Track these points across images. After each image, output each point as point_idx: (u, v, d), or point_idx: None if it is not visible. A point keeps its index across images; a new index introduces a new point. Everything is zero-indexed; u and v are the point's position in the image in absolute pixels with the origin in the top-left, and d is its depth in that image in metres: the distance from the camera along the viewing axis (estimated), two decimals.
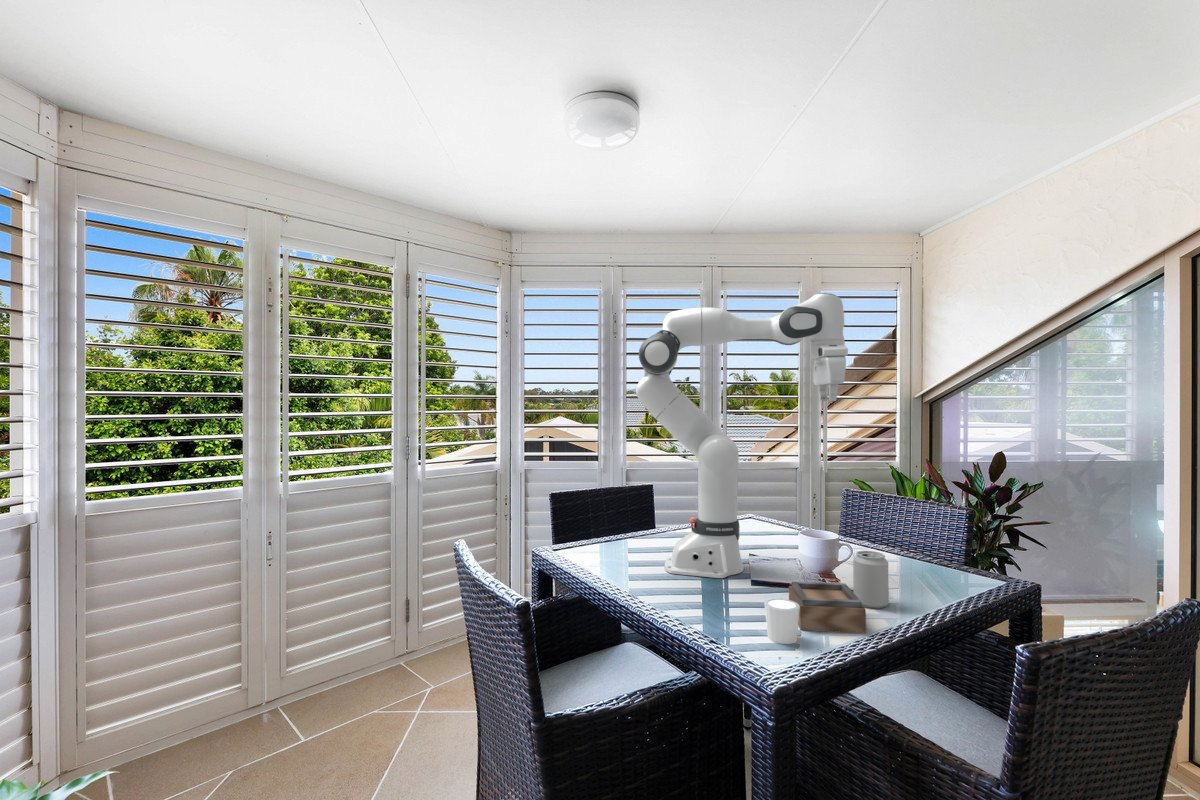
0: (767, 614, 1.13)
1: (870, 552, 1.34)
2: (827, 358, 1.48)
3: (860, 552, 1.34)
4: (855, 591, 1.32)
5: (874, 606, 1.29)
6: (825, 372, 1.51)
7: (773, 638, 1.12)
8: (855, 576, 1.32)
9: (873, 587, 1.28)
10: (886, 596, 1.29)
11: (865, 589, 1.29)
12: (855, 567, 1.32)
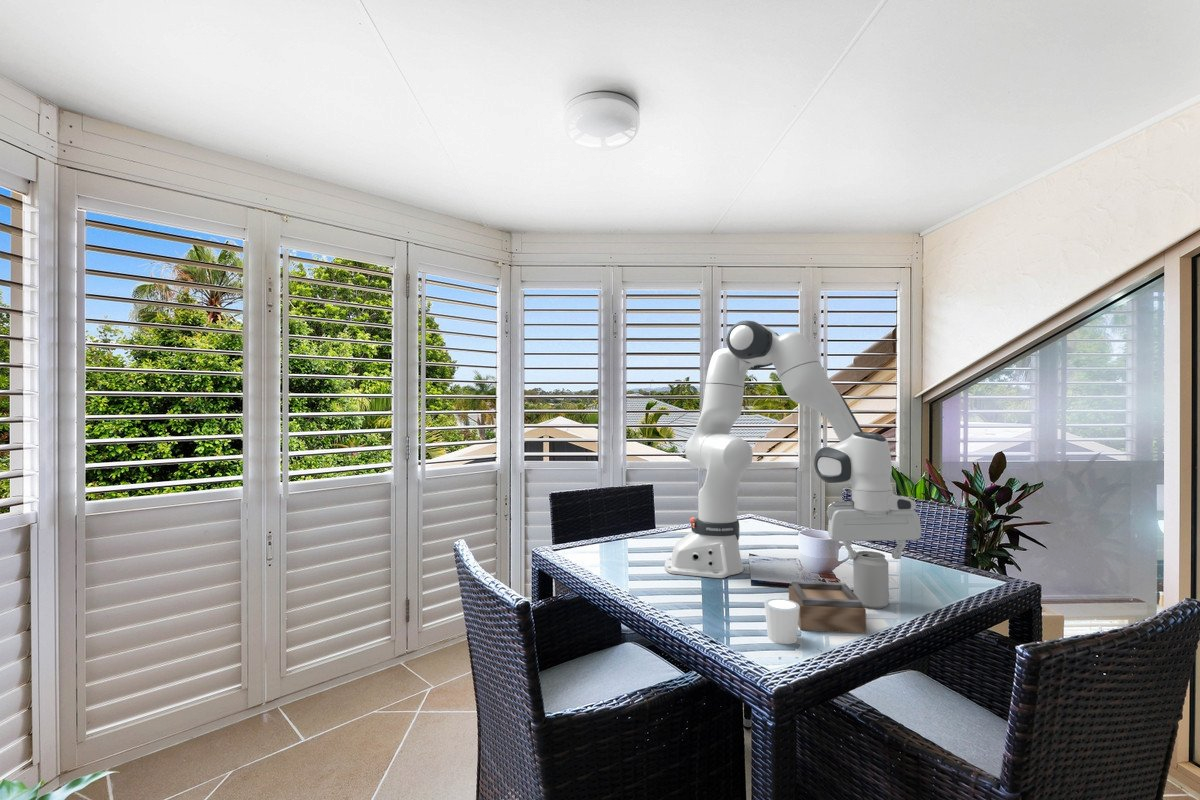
0: (767, 614, 1.13)
1: (870, 552, 1.34)
2: (915, 512, 1.29)
3: (860, 552, 1.34)
4: (855, 591, 1.32)
5: (874, 606, 1.29)
6: (898, 527, 1.30)
7: (773, 638, 1.12)
8: (855, 576, 1.32)
9: (873, 587, 1.28)
10: (886, 596, 1.29)
11: (865, 589, 1.29)
12: (855, 567, 1.32)
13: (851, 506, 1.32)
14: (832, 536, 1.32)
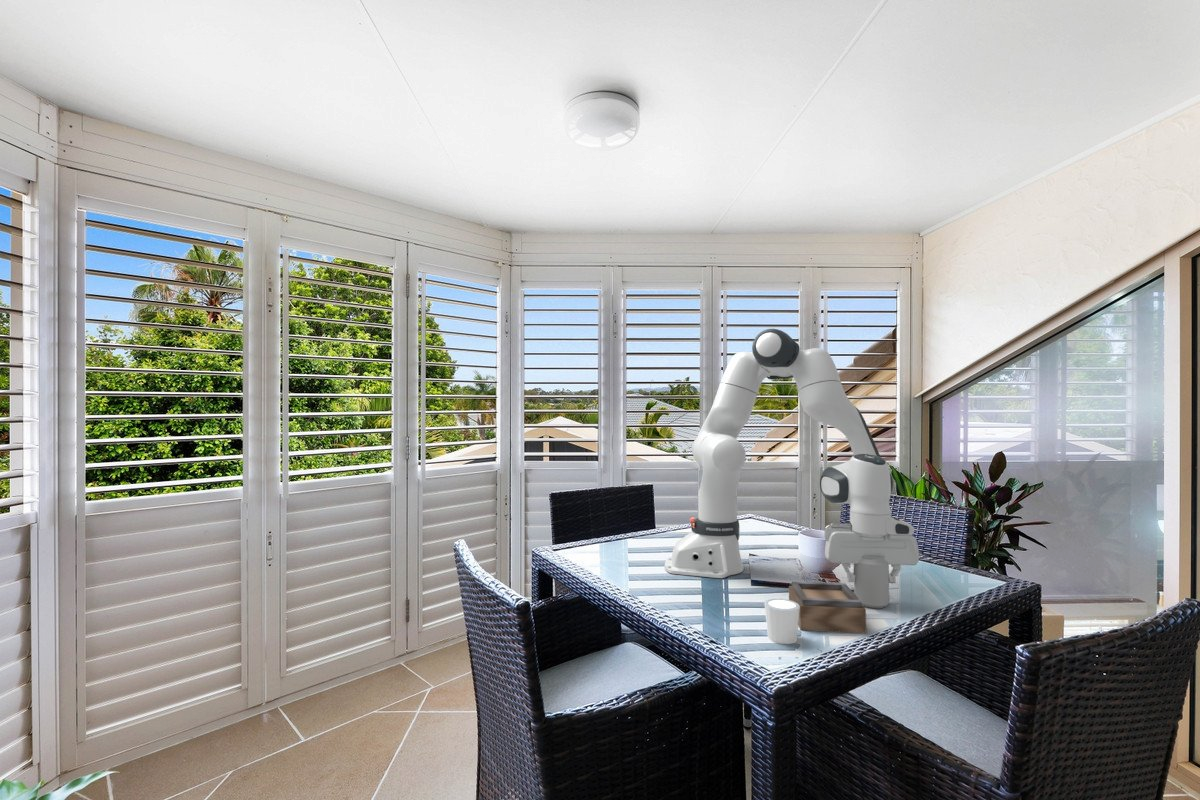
0: (767, 614, 1.13)
1: None
2: (913, 537, 1.28)
3: None
4: (855, 591, 1.32)
5: (874, 606, 1.28)
6: (895, 551, 1.29)
7: (773, 638, 1.12)
8: None
9: (873, 587, 1.28)
10: (886, 596, 1.29)
11: (865, 588, 1.29)
12: (855, 567, 1.32)
13: (849, 528, 1.32)
14: (828, 557, 1.32)
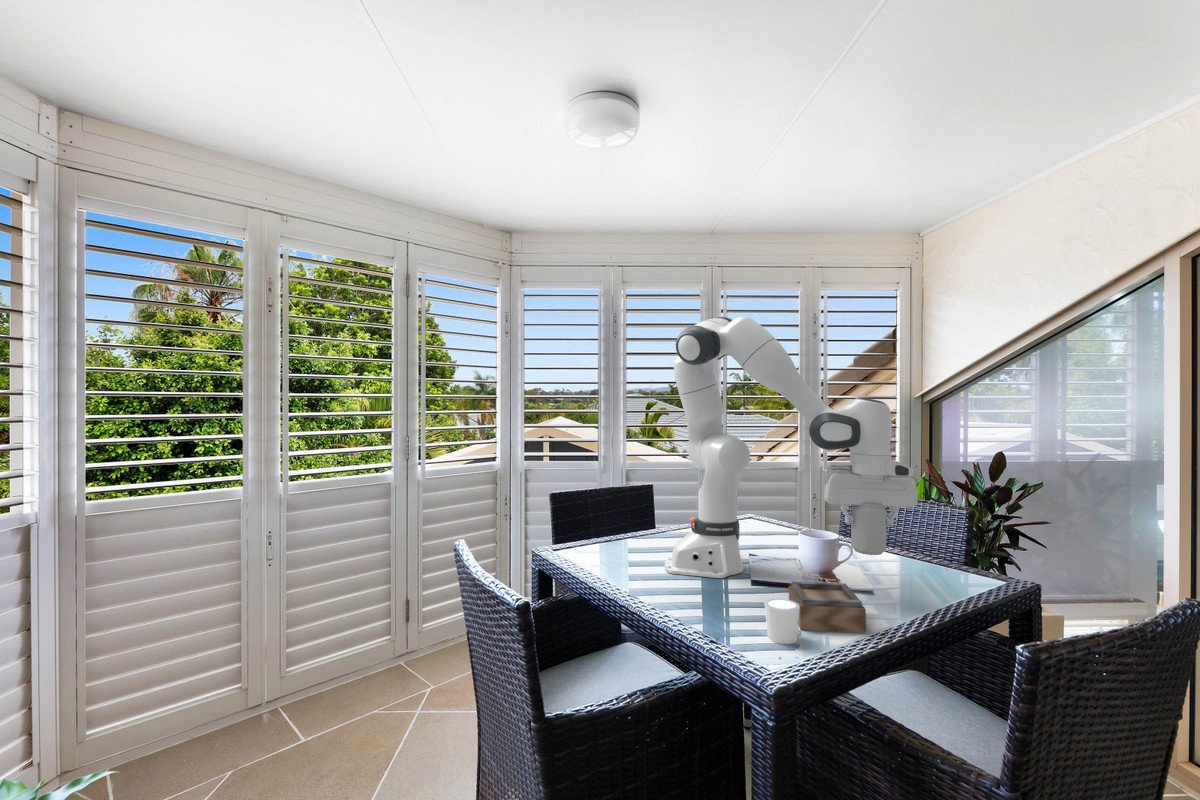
0: (767, 614, 1.13)
1: None
2: (913, 479, 1.29)
3: None
4: (852, 538, 1.32)
5: (871, 552, 1.29)
6: (894, 493, 1.30)
7: (773, 638, 1.12)
8: (853, 523, 1.32)
9: (871, 533, 1.29)
10: (883, 543, 1.29)
11: (862, 535, 1.30)
12: (853, 514, 1.32)
13: (849, 470, 1.33)
14: (827, 499, 1.32)
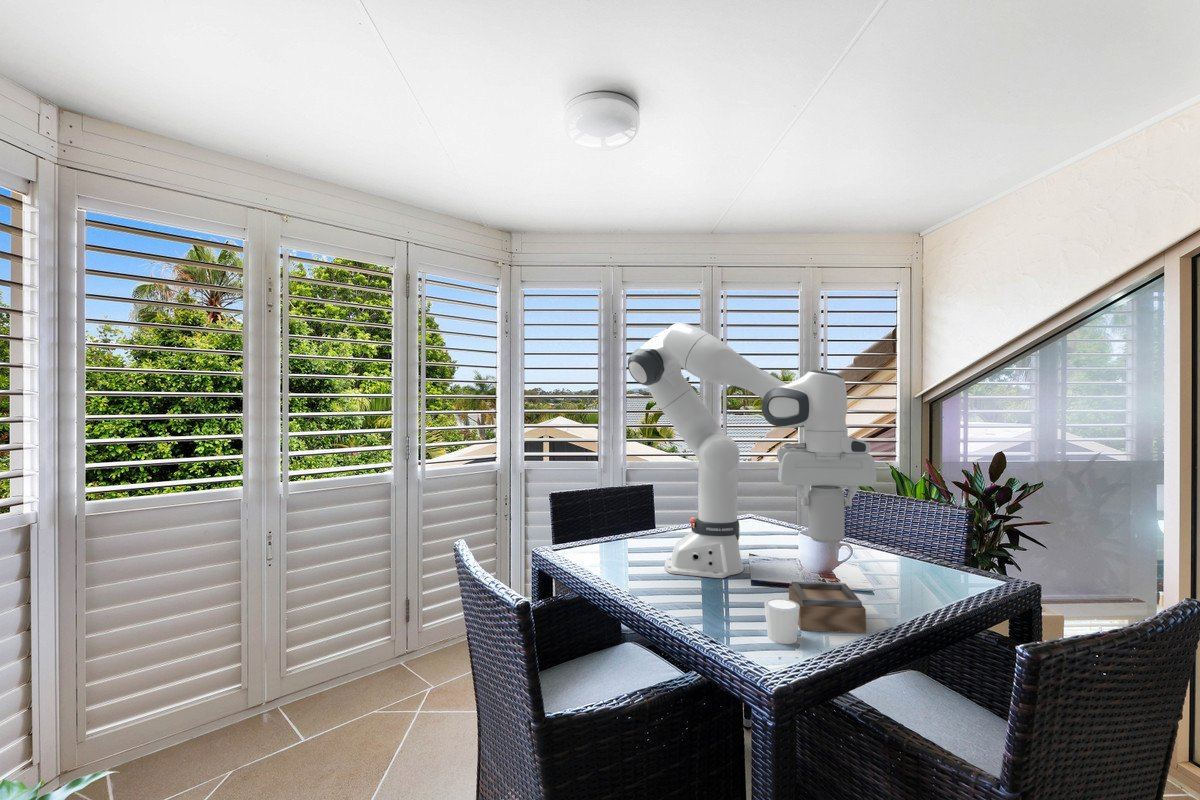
0: (767, 614, 1.13)
1: (827, 486, 1.26)
2: None
3: (816, 486, 1.26)
4: (809, 526, 1.24)
5: (827, 541, 1.20)
6: (852, 471, 1.21)
7: (773, 638, 1.12)
8: (809, 510, 1.23)
9: (827, 520, 1.20)
10: (841, 530, 1.20)
11: (818, 522, 1.21)
12: None
13: (803, 448, 1.24)
14: (781, 479, 1.23)
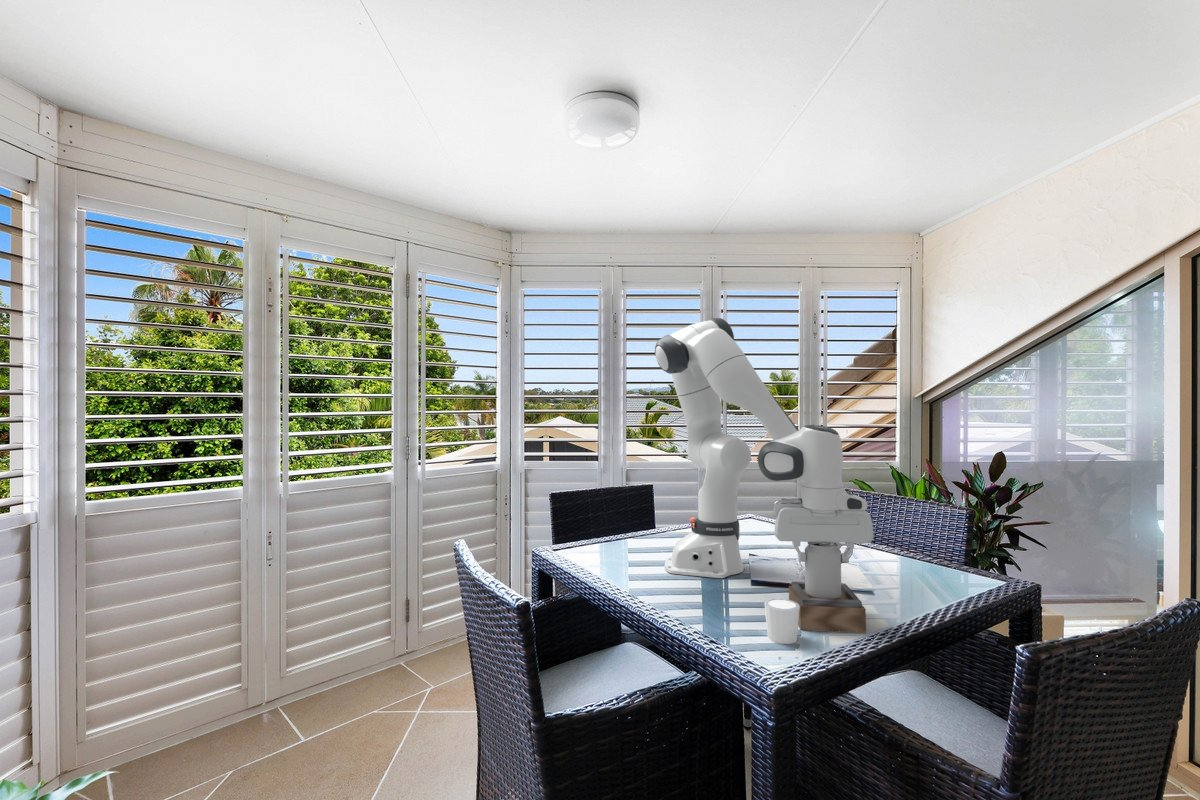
0: (767, 614, 1.13)
1: None
2: (867, 512, 1.19)
3: None
4: (806, 582, 1.23)
5: None
6: (848, 528, 1.20)
7: (773, 638, 1.12)
8: (805, 566, 1.23)
9: (823, 578, 1.19)
10: (837, 588, 1.20)
11: (814, 580, 1.20)
12: None
13: (799, 504, 1.23)
14: (777, 535, 1.23)
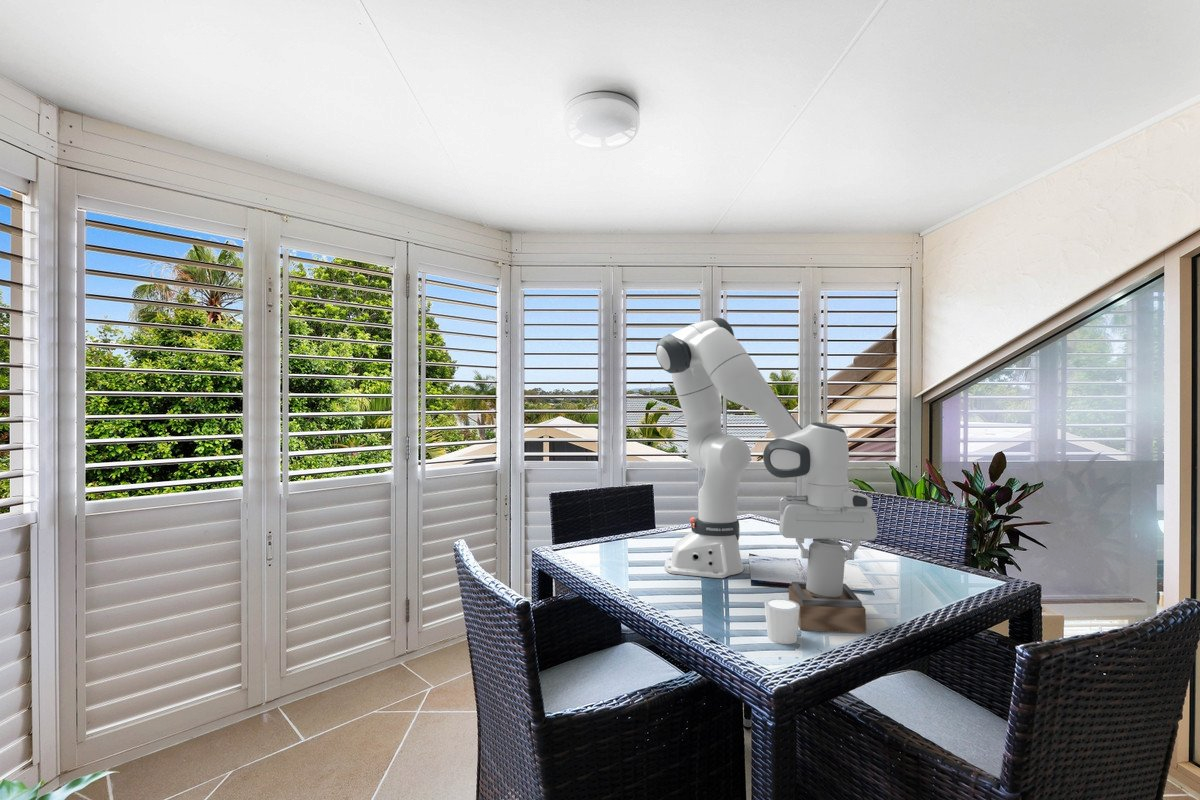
0: (767, 614, 1.13)
1: (829, 540, 1.25)
2: (872, 510, 1.20)
3: (818, 539, 1.26)
4: (807, 579, 1.23)
5: (824, 596, 1.20)
6: (853, 525, 1.21)
7: (773, 638, 1.12)
8: (809, 563, 1.23)
9: (825, 576, 1.20)
10: (839, 587, 1.20)
11: (816, 577, 1.21)
12: (809, 553, 1.23)
13: (804, 501, 1.24)
14: (782, 532, 1.23)
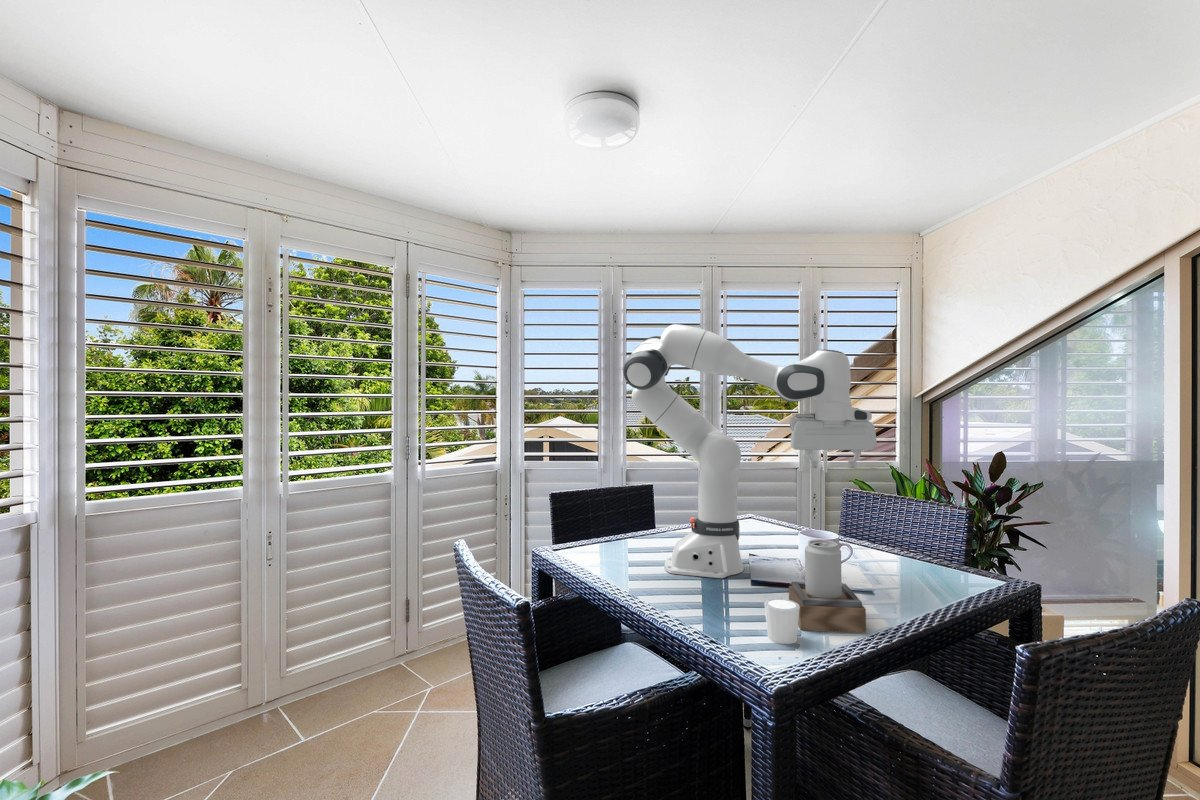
0: (767, 614, 1.13)
1: (824, 541, 1.25)
2: (871, 423, 1.38)
3: (813, 541, 1.25)
4: (806, 582, 1.23)
5: (824, 598, 1.20)
6: (855, 437, 1.39)
7: (773, 638, 1.12)
8: (806, 566, 1.23)
9: (823, 578, 1.20)
10: (838, 588, 1.20)
11: (814, 580, 1.21)
12: (806, 557, 1.23)
13: (812, 418, 1.42)
14: (793, 445, 1.41)
